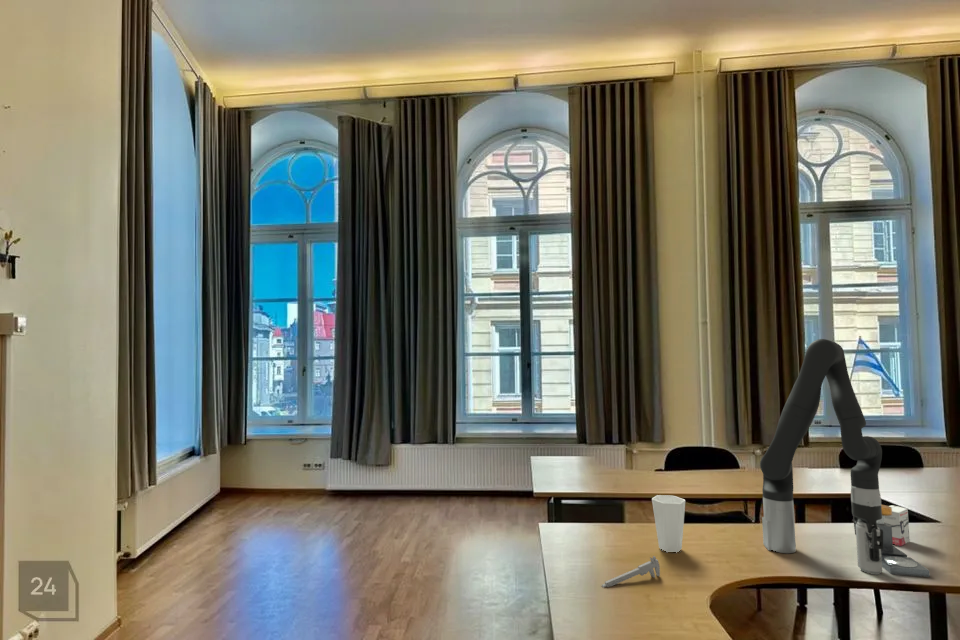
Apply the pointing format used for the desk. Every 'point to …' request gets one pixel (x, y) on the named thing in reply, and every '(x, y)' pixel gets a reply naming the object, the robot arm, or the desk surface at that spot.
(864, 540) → the energy drink can
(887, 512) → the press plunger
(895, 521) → the ink box
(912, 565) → the plate
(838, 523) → the desk surface
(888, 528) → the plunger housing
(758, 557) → the desk surface
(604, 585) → the caliper
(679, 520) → the cup
